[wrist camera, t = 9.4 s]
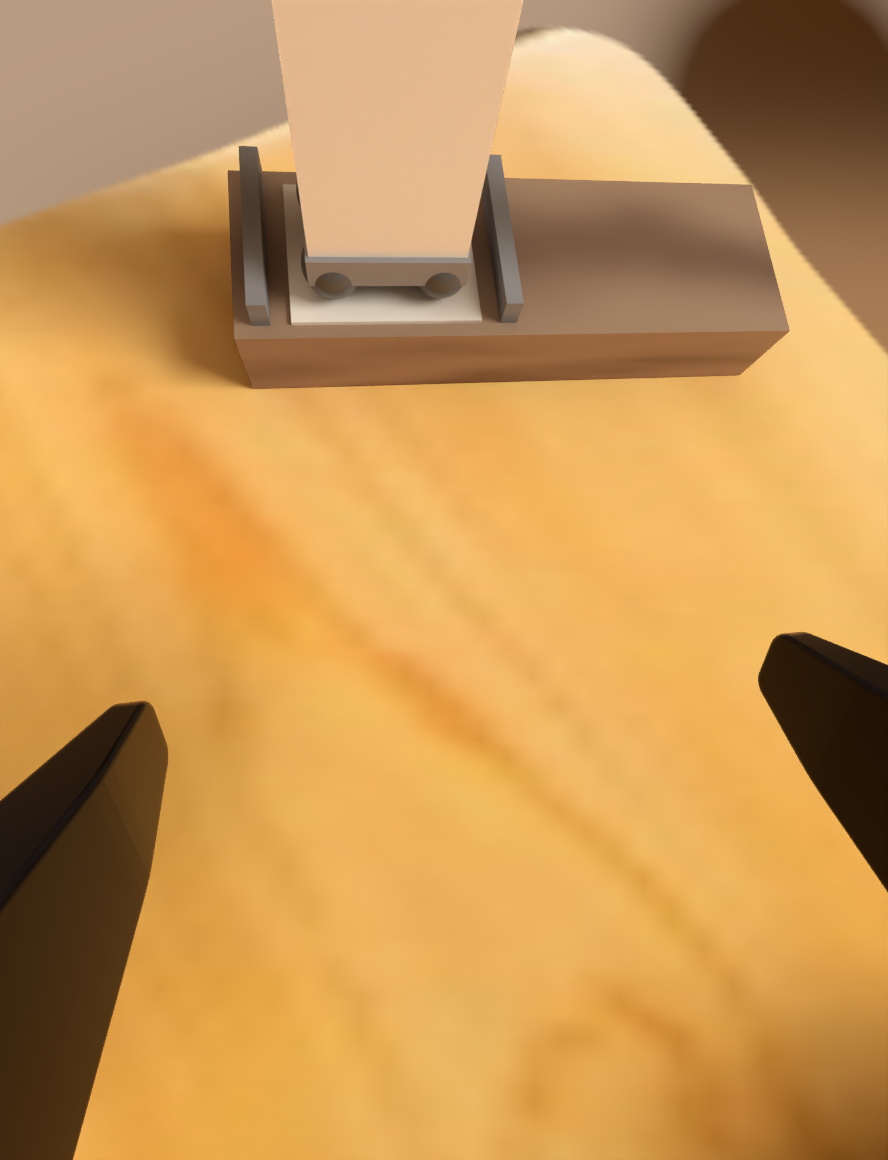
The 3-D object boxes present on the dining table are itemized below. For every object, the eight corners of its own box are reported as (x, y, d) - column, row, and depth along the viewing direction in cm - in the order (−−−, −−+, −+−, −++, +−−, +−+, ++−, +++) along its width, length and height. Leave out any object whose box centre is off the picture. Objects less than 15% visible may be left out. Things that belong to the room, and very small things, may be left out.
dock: (739, 374, 24) (809, 313, 20) (252, 388, 21) (226, 319, 17) (708, 243, 26) (768, 161, 22) (246, 238, 23) (220, 142, 19)
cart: (467, 311, 20) (607, -255, 8) (306, 312, 19) (200, -316, 7) (452, 197, 21) (558, -457, 9) (298, 194, 20) (193, -531, 8)
